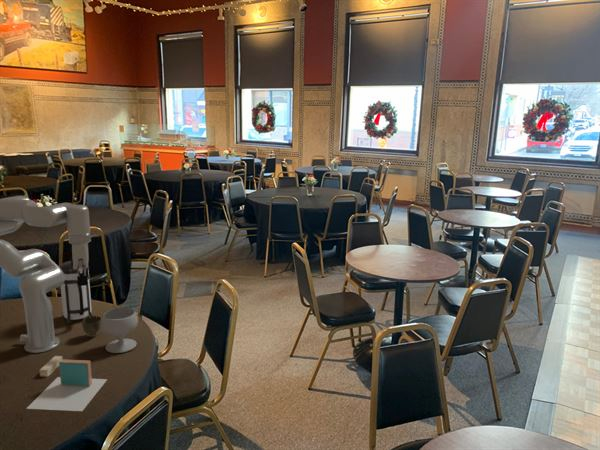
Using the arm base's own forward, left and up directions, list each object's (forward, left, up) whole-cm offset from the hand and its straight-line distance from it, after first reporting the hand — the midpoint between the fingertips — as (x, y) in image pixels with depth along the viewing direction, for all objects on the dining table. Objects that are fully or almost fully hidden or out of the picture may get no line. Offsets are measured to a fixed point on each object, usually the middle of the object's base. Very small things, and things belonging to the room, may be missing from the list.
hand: (83, 281), depth 170 cm
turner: (-7, -17, -31) cm, 36 cm away
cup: (-6, +15, -31) cm, 35 cm away
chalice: (+10, +7, -31) cm, 34 cm away
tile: (+7, -23, -30) cm, 38 cm away
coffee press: (-20, +31, -31) cm, 49 cm away
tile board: (+7, -28, -31) cm, 42 cm away
